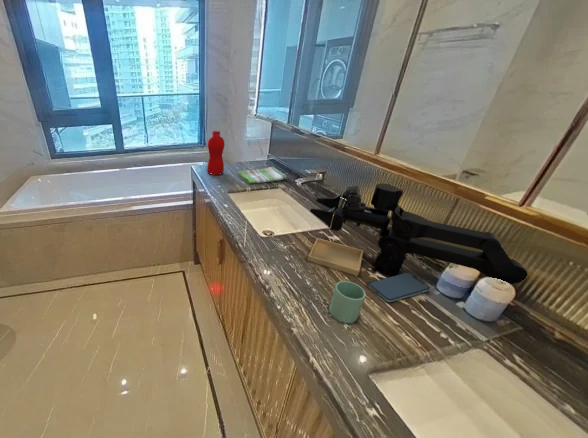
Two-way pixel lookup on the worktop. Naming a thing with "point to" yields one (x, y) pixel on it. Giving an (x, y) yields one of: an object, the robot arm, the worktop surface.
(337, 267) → the tray
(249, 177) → the dish towel
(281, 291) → the worktop surface
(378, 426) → the worktop surface
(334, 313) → the cup
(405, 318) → the worktop surface
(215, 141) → the water bottle
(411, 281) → the smartphone
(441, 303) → the worktop surface
